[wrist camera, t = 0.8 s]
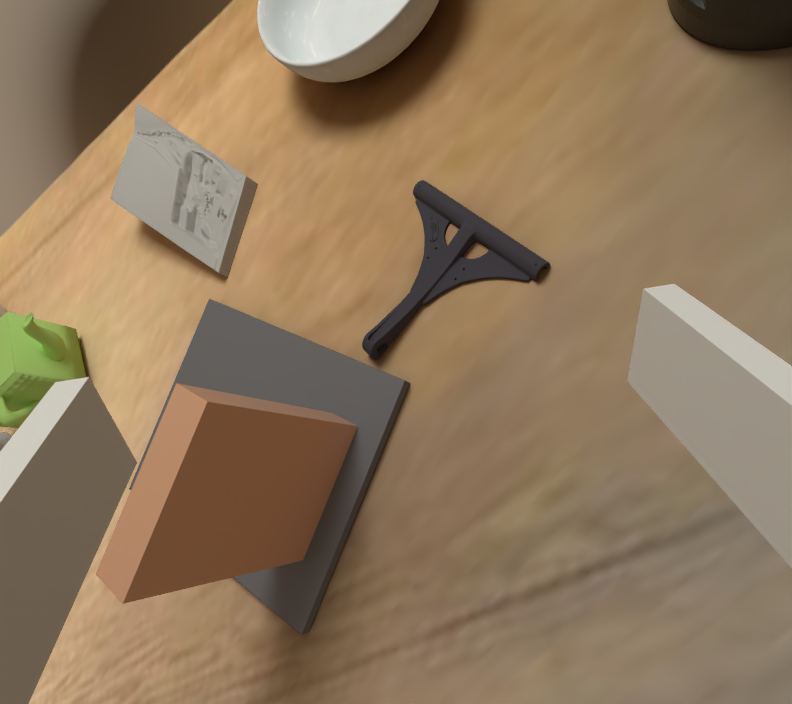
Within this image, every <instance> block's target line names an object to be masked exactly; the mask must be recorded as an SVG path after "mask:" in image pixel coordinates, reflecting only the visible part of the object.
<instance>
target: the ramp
mask: <svg viewBox="0 0 792 704" xmlns="http://www.w3.org/2000/svg"><path fill="white" fill-rule="evenodd" d="M257 185H258V184H257V183H256V182H254V181H253V180H252V179H250V178H249V177H247V176H246V175H244V174H243V173H241V172H240V171H238V170H237V169H235V168H234V167H232V166H231V165H229V164H228V163H226V162H225V161H223V160H222V159H220V158H219V157H217V156H216V155H214V154H213V153H211V152H210V151H208V150H207V149H205V148H204V147H202V146H201V145H199V144H198V143H196V142H195V141H193V140H192V139H190V138H189V137H187V136H186V135H184V134H183V133H181V132H180V131H178V130H177V129H175V128H174V127H172V126H171V125H169V124H168V123H166V122H165V121H163V120H162V119H160V118H159V117H157V116H156V115H154V114H153V113H152V112H150V111H148V110H147V109H145V108H144V107H142V106H141V105H139V104H138V103H137V105H136V114H135V130H134V134H133V136H132V139H131V141H130V143H129V145H128V148H127V150H126V153H125V156H124V158H123V161H122V164H121V167H120V170H119V173H118V176H117V179H116V182H115V185H114V188H113V191H112V195H111V199H112V200H113V201H115V202H116V203H117V204H119V205H120V206H121V207H123V208H124V209H126V210H127V211H129V212H130V213H131V214H133V215H134V216H136V217H137V218H139V219H140V220H142V221H143V222H144V223H146V224H147V225H149V226H150V227H152V228H153V229H155V230H156V231H158V232H159V233H161V234H162V235H164V236H165V237H166V238H168V239H169V240H171V241H172V242H174V243H175V244H177V245H178V246H180V247H181V248H183V249H184V250H185V251H187V252H188V253H190V254H191V255H193V256H194V257H196V258H197V259H199V260H200V261H202V262H203V263H205V264H206V265H208V266H209V267H211V268H212V269H214V270H215V271H217V272H218V273H220V274H222V275H224V276H226V277H228V275H229V272H230V269H231V265H232V262H233V259H234V256H235V253H236V250H237V247H238V244H239V241H240V238H241V235H242V231H243V228H244V225H245V222H246V219H247V216H248V213H249V210H250V207H251V204H252V201H253V197H254V194H255V191H256V188H257Z"/></svg>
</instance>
